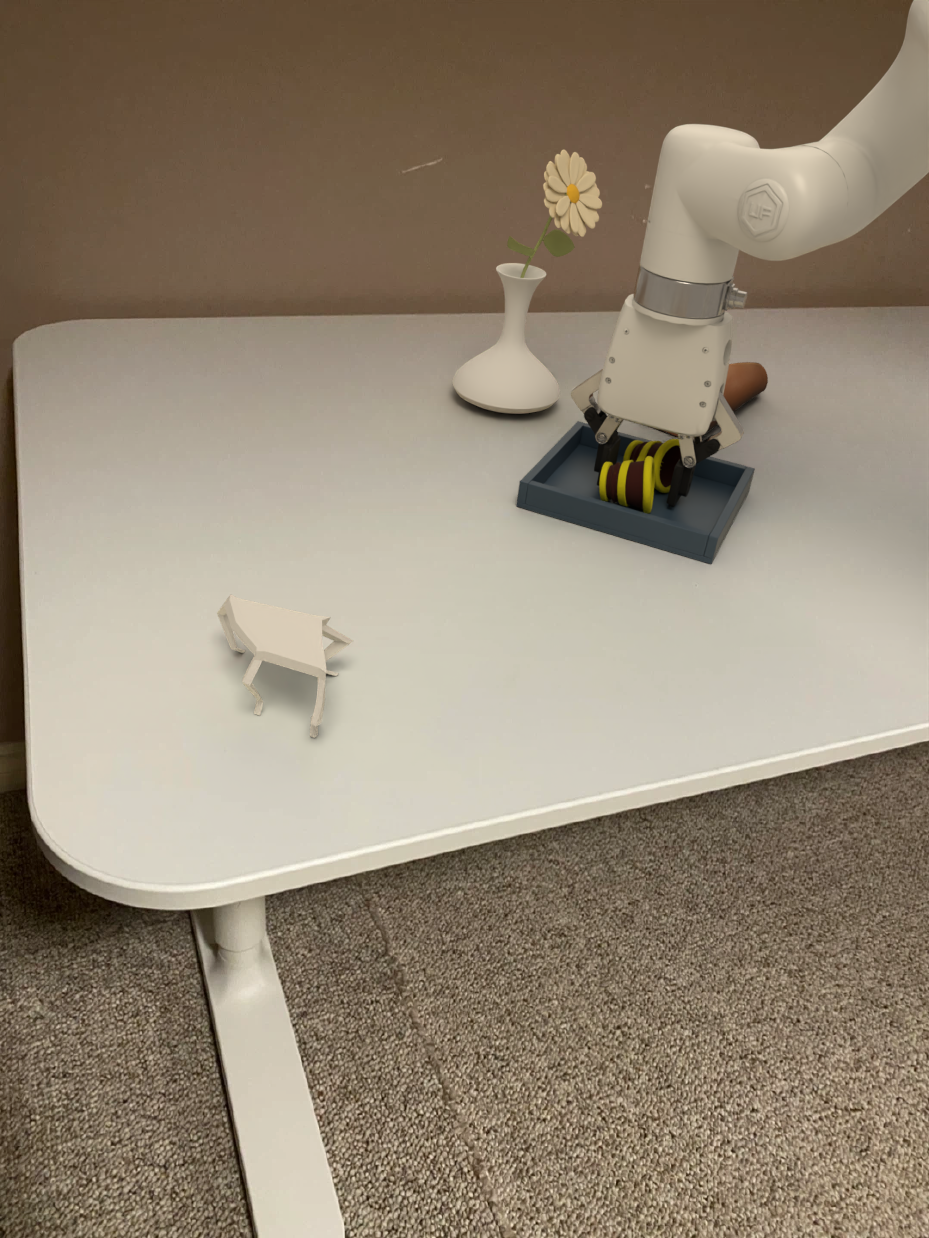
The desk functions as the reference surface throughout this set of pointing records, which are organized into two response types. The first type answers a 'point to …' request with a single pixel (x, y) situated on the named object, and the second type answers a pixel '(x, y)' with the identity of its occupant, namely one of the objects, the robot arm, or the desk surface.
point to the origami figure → (282, 643)
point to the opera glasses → (640, 473)
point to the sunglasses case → (741, 386)
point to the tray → (684, 529)
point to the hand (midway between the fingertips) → (639, 488)
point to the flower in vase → (509, 367)
